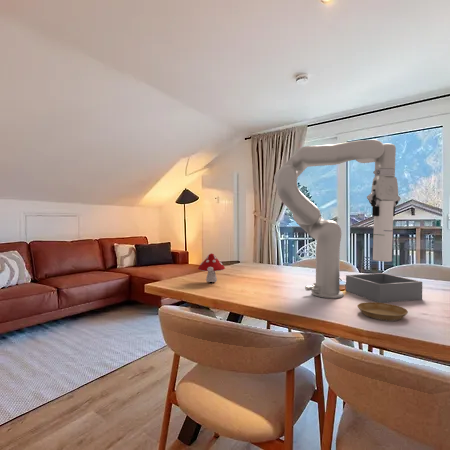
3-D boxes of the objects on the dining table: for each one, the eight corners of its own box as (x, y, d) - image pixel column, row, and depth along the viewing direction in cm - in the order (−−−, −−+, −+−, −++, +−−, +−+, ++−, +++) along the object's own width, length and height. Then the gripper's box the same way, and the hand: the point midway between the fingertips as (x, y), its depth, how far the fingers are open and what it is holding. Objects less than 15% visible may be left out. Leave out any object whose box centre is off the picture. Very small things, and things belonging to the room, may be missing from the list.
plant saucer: (348, 310, 103) (348, 303, 102) (383, 307, 106) (383, 300, 106) (379, 325, 88) (379, 316, 88) (419, 321, 91) (419, 313, 91)
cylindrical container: (394, 261, 119) (396, 200, 119) (375, 261, 121) (377, 200, 120) (388, 259, 126) (390, 201, 126) (370, 258, 128) (372, 201, 127)
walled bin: (379, 302, 111) (379, 284, 111) (346, 290, 130) (346, 275, 130) (422, 299, 116) (422, 281, 116) (383, 288, 135) (383, 273, 135)
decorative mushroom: (222, 286, 140) (222, 255, 140) (194, 285, 142) (194, 254, 142) (226, 280, 154) (226, 252, 154) (201, 279, 156) (201, 251, 156)
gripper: (374, 171, 117) (372, 215, 117) (408, 174, 122) (407, 216, 122) (360, 174, 124) (359, 215, 125) (394, 176, 129) (393, 216, 129)
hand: (383, 215), depth 123 cm, fingers closed on cylindrical container, 7 cm apart
